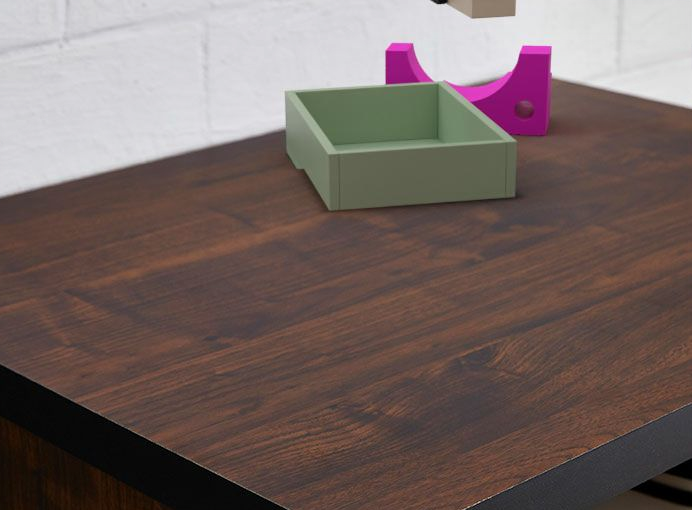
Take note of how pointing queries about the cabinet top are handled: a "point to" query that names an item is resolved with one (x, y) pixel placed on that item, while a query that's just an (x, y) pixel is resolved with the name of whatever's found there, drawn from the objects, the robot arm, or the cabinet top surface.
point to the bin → (397, 145)
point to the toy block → (492, 88)
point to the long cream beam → (484, 8)
